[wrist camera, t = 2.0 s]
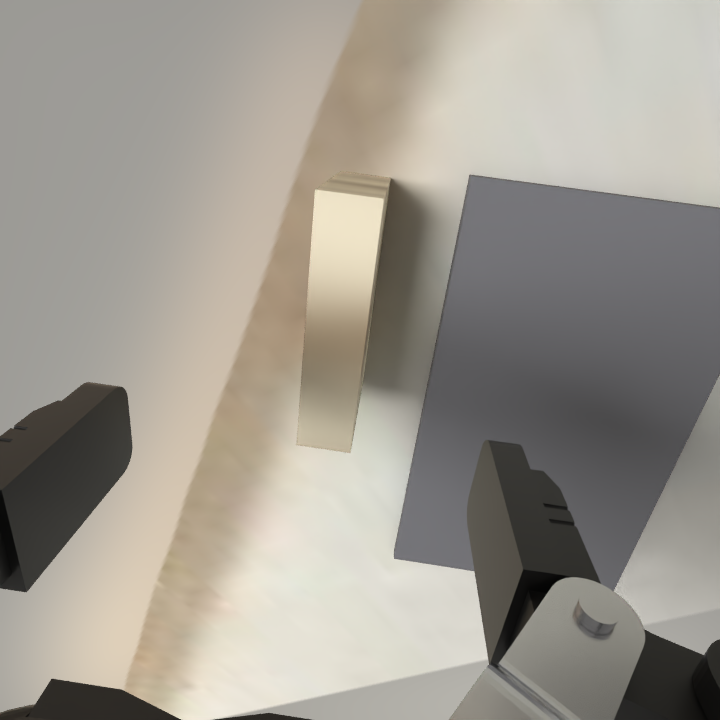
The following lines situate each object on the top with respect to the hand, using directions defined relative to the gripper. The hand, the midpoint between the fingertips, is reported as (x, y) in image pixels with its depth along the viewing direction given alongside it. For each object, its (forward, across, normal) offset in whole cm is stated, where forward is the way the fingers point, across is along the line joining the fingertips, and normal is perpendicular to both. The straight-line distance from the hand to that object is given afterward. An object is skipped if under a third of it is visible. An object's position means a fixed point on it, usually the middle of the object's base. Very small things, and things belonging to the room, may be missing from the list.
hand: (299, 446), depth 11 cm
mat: (+12, -10, +5) cm, 16 cm away
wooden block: (+12, 0, 0) cm, 12 cm away
